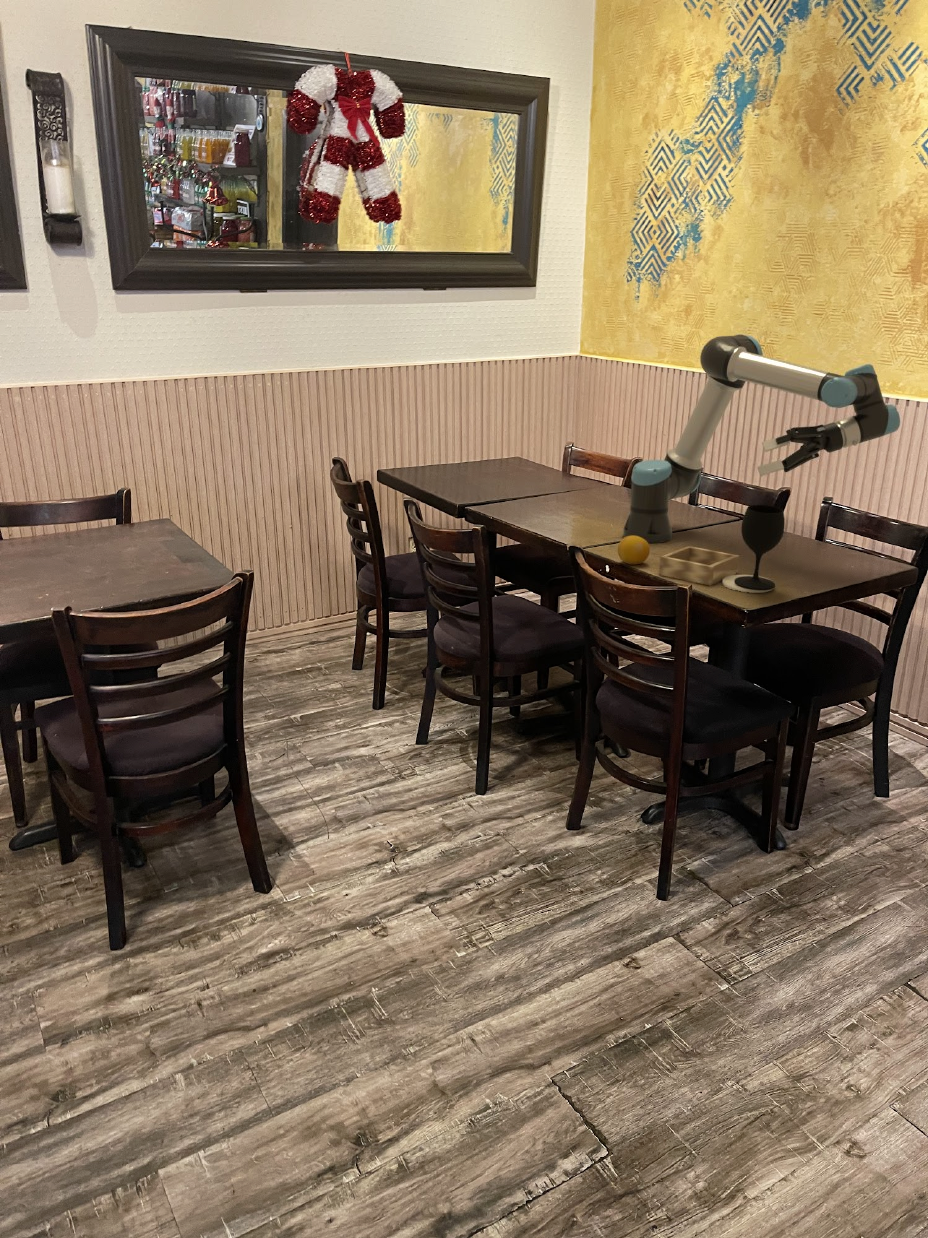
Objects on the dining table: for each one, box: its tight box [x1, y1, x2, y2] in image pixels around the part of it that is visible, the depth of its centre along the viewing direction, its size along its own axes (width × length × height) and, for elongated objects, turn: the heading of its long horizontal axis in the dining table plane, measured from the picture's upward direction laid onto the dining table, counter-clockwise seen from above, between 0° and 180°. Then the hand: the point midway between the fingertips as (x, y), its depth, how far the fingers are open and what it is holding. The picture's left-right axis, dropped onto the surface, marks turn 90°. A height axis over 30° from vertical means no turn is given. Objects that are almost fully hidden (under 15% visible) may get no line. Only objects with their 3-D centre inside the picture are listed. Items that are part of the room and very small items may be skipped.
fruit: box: [617, 536, 651, 565], centre depth 268 cm, size 9×8×8 cm
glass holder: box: [658, 545, 740, 586], centre depth 259 cm, size 15×15×5 cm
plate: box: [721, 574, 774, 594], centre depth 249 cm, size 13×13×1 cm
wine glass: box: [734, 504, 786, 591], centre depth 243 cm, size 10×10×20 cm
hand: (761, 459), depth 257 cm, fingers open, 13 cm apart
